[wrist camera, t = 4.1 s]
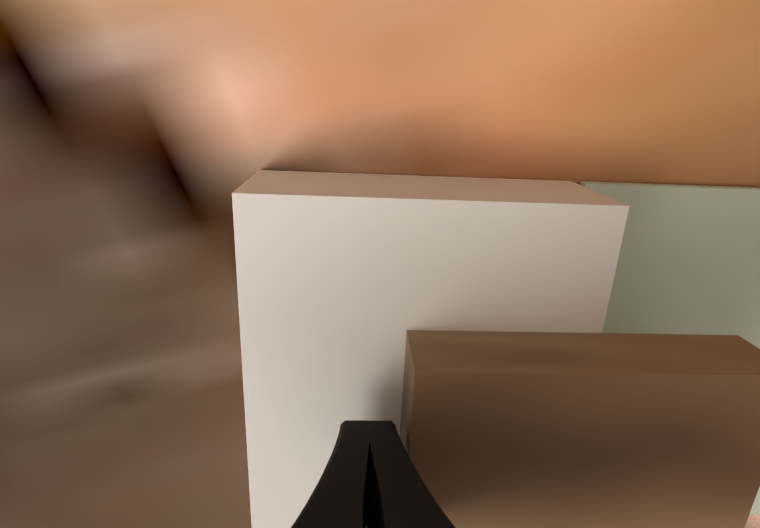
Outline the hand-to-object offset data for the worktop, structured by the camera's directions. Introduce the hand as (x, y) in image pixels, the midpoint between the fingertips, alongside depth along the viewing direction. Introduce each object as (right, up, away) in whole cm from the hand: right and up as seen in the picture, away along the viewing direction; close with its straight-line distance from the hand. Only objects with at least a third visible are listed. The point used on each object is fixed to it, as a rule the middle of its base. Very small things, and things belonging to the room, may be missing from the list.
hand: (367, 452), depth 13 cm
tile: (+5, 0, +1) cm, 5 cm away
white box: (+1, +1, +4) cm, 5 cm away
